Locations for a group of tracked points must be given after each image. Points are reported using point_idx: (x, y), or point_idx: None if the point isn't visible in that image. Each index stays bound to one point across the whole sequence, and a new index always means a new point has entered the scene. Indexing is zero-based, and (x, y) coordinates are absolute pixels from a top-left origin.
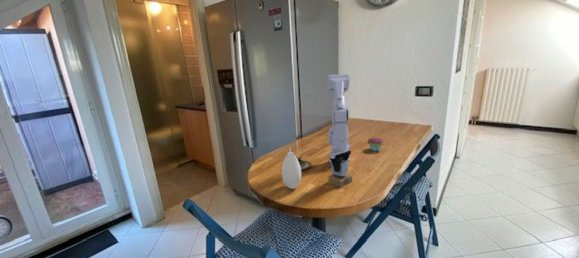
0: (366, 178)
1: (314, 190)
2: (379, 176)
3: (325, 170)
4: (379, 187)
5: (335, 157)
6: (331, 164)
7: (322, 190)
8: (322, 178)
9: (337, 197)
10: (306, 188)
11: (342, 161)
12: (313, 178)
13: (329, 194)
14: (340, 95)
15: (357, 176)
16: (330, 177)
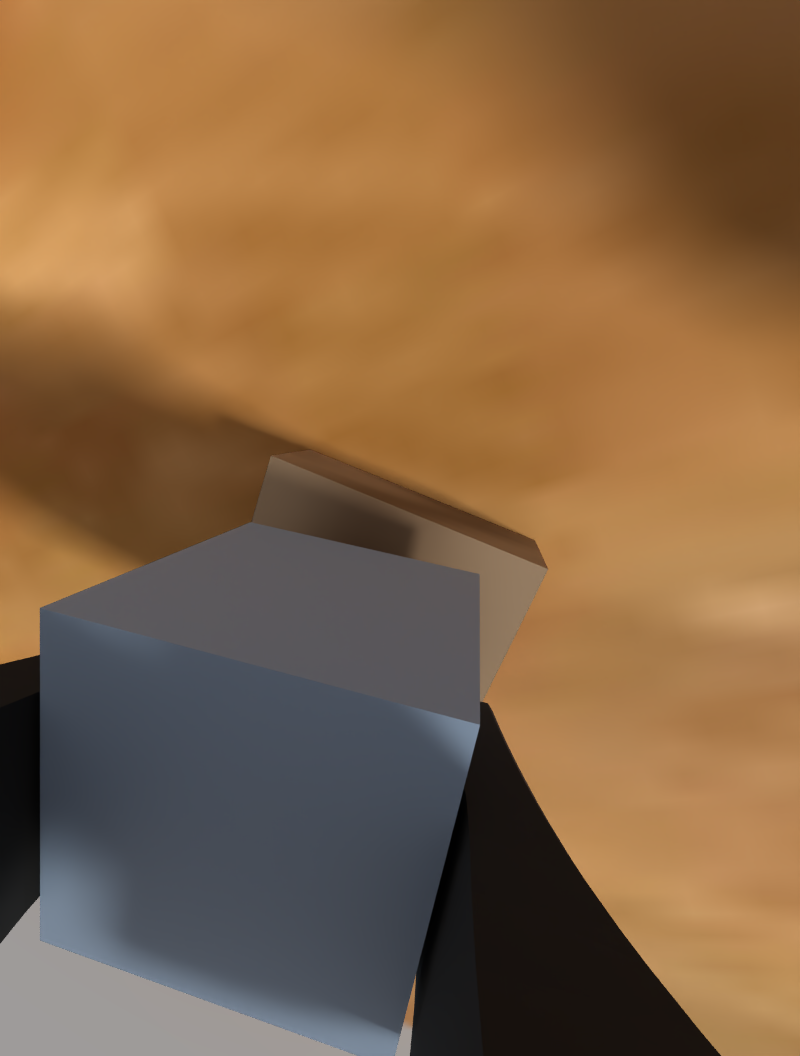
0: (607, 883)
1: (25, 363)
2: (724, 1017)
3: (754, 211)
4: (413, 995)
5: None
6: (95, 587)
7: (73, 457)
8: (385, 312)
9: (33, 653)
10: (12, 232)
11: (293, 925)
12: (327, 161)
13: (40, 563)
14: None
15: (638, 779)
16: (262, 495)
